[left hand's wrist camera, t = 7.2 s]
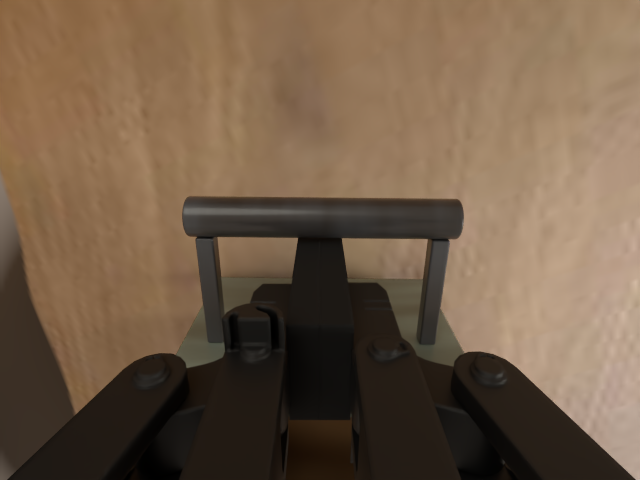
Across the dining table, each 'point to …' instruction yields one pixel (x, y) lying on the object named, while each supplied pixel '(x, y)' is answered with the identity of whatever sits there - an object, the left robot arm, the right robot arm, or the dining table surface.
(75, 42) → the dining table surface
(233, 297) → the drawer
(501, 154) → the dining table surface
